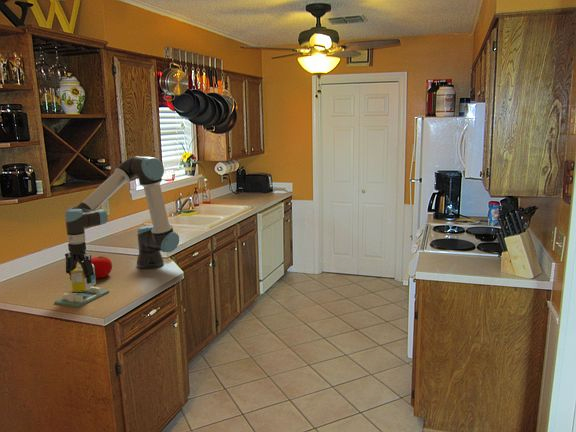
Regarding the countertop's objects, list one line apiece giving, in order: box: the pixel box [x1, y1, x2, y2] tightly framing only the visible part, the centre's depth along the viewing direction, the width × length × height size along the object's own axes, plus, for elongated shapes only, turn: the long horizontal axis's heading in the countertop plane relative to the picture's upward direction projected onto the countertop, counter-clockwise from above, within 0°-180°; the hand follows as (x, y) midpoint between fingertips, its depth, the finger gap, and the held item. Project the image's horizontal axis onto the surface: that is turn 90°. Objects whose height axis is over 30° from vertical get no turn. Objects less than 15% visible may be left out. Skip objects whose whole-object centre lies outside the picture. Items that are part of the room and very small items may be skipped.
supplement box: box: [70, 267, 87, 293], centre depth 222 cm, size 6×6×11 cm
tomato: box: [91, 255, 113, 279], centre depth 252 cm, size 12×14×11 cm
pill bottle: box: [77, 261, 97, 287], centre depth 239 cm, size 8×7×14 cm
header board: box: [54, 285, 110, 309], centre depth 223 cm, size 20×14×5 cm
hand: (81, 288), depth 223 cm, fingers closed on supplement box, 7 cm apart
